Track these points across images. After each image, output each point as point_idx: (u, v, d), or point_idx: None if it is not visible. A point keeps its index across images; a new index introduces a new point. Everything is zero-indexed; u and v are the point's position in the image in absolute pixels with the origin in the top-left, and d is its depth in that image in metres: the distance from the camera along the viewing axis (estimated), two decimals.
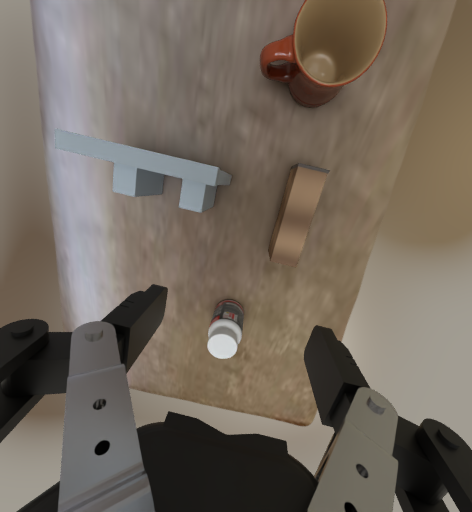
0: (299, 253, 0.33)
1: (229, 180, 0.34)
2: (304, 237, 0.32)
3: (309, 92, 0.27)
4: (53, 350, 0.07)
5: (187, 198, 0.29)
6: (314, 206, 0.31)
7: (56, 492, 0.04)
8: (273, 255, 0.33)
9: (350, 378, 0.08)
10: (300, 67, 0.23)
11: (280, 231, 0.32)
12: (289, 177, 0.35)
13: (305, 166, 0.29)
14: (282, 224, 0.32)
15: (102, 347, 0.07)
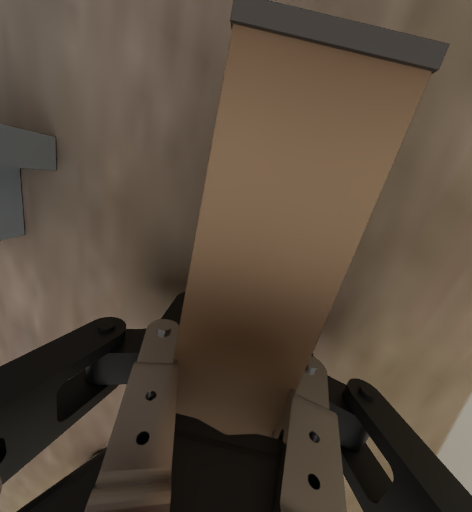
0: None
1: (22, 151, 0.10)
2: (284, 399, 0.07)
3: None
4: (131, 345, 0.08)
5: None
6: (334, 273, 0.06)
7: (56, 492, 0.04)
8: None
9: None
10: None
11: None
12: None
13: (280, 19, 0.04)
14: (181, 345, 0.07)
15: (175, 342, 0.08)
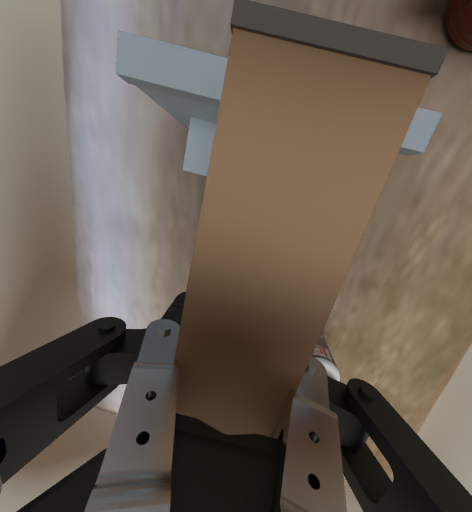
0: None
1: None
2: (284, 400, 0.07)
3: None
4: (131, 345, 0.08)
5: None
6: (334, 275, 0.06)
7: (56, 492, 0.04)
8: None
9: None
10: None
11: None
12: None
13: (280, 23, 0.04)
14: (182, 346, 0.07)
15: (175, 342, 0.08)
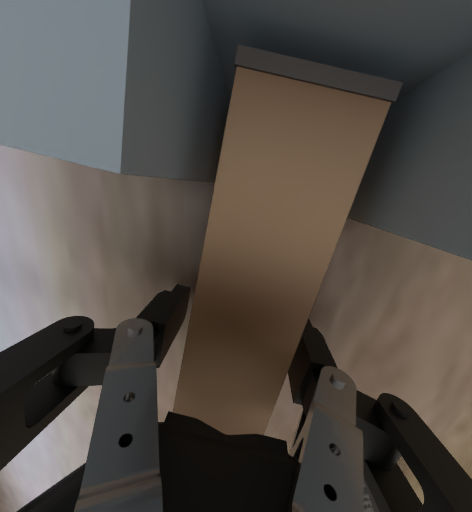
0: (265, 417, 0.09)
1: None
2: (281, 371, 0.08)
3: None
4: (99, 345, 0.07)
5: None
6: (320, 261, 0.07)
7: (56, 492, 0.04)
8: None
9: (318, 358, 0.09)
10: None
11: (189, 347, 0.08)
12: None
13: (273, 63, 0.05)
14: (193, 325, 0.08)
15: (145, 342, 0.07)
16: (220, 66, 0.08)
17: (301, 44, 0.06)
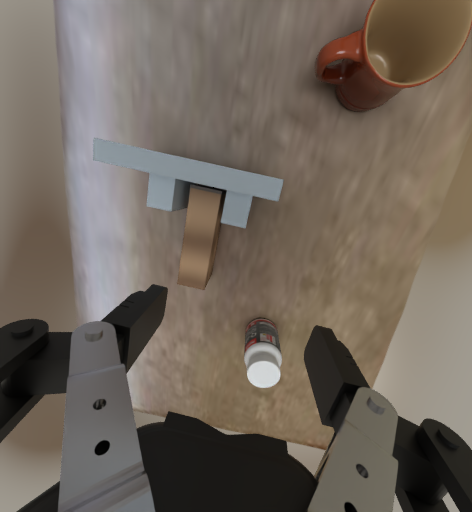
0: (205, 275, 0.31)
1: None
2: (207, 259, 0.31)
3: (367, 94, 0.24)
4: (53, 350, 0.07)
5: (230, 212, 0.26)
6: (212, 227, 0.29)
7: (56, 492, 0.04)
8: (179, 278, 0.32)
9: (350, 378, 0.08)
10: (370, 66, 0.20)
11: (182, 253, 0.31)
12: None
13: (197, 187, 0.28)
14: (183, 246, 0.30)
15: (102, 347, 0.07)
16: None
17: None
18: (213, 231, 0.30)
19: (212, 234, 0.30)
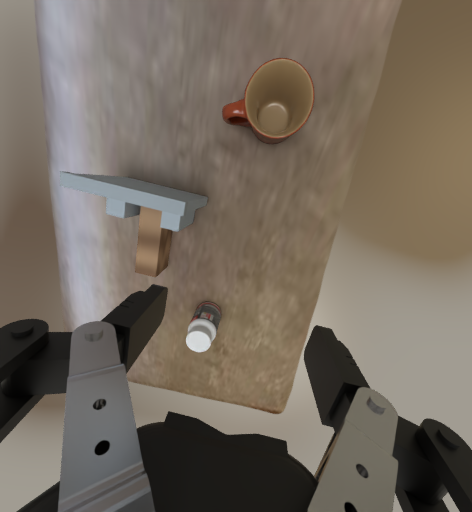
0: (155, 266, 0.41)
1: (205, 202, 0.41)
2: (156, 253, 0.40)
3: (264, 136, 0.34)
4: (53, 350, 0.07)
5: (166, 220, 0.35)
6: (159, 230, 0.39)
7: (56, 492, 0.04)
8: (136, 267, 0.42)
9: (350, 378, 0.08)
10: (251, 123, 0.29)
11: (138, 249, 0.40)
12: None
13: None
14: (138, 243, 0.40)
15: (102, 347, 0.07)
16: None
17: None
18: (160, 232, 0.39)
19: (159, 235, 0.39)
